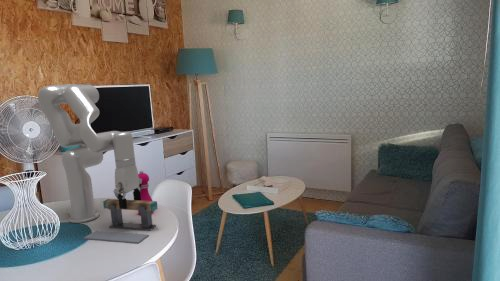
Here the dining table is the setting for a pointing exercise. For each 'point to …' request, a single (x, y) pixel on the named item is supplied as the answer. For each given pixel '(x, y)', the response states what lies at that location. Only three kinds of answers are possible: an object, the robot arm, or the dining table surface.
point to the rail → (132, 204)
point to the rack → (118, 223)
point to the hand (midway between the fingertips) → (130, 204)
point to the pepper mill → (144, 188)
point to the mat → (117, 237)
